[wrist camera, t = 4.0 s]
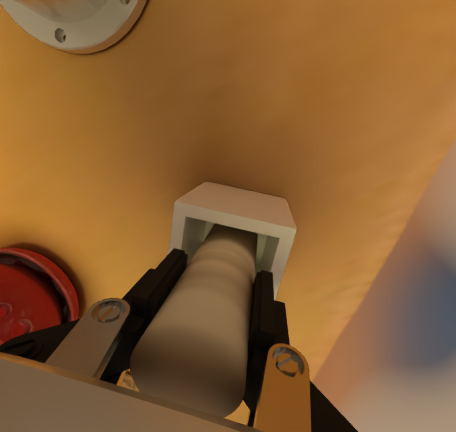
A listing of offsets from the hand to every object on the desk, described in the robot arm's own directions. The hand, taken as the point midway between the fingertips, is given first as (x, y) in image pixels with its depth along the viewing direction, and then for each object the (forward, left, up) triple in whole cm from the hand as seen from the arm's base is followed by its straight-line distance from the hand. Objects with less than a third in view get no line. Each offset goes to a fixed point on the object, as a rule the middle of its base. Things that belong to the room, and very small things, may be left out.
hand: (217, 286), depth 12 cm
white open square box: (0, 0, -9) cm, 9 cm away
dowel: (0, 0, -8) cm, 8 cm away
